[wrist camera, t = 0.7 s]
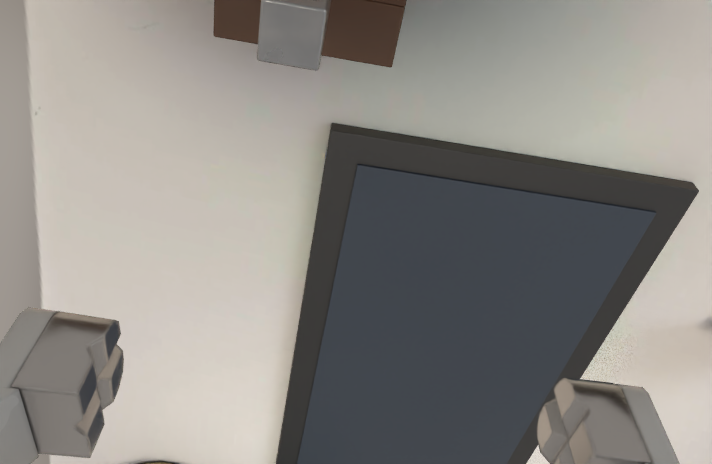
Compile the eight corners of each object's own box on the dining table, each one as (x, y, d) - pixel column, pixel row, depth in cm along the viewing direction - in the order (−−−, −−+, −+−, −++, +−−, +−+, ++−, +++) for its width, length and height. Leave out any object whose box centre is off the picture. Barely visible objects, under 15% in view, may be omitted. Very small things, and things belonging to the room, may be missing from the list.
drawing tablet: (331, 122, 37) (330, 131, 36) (693, 182, 39) (701, 192, 38) (275, 468, 61) (273, 478, 60) (499, 493, 63) (501, 504, 62)
